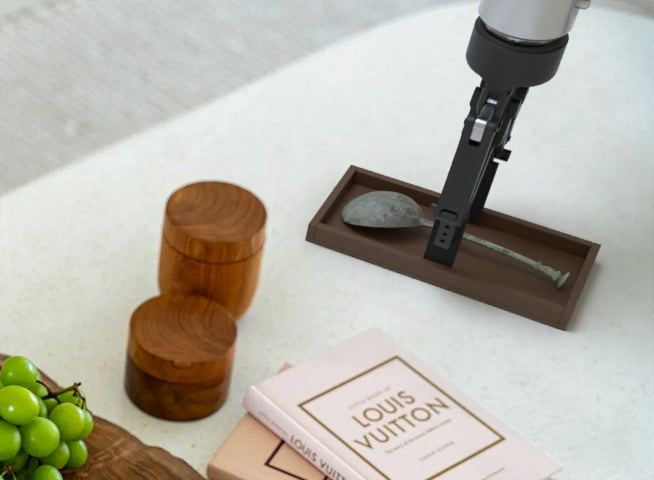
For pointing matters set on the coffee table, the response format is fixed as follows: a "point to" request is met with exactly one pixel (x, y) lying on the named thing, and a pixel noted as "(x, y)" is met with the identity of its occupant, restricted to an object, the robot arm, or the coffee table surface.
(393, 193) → the soupspoon
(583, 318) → the coffee table surface
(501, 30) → the robot arm
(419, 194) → the cutlery tray
